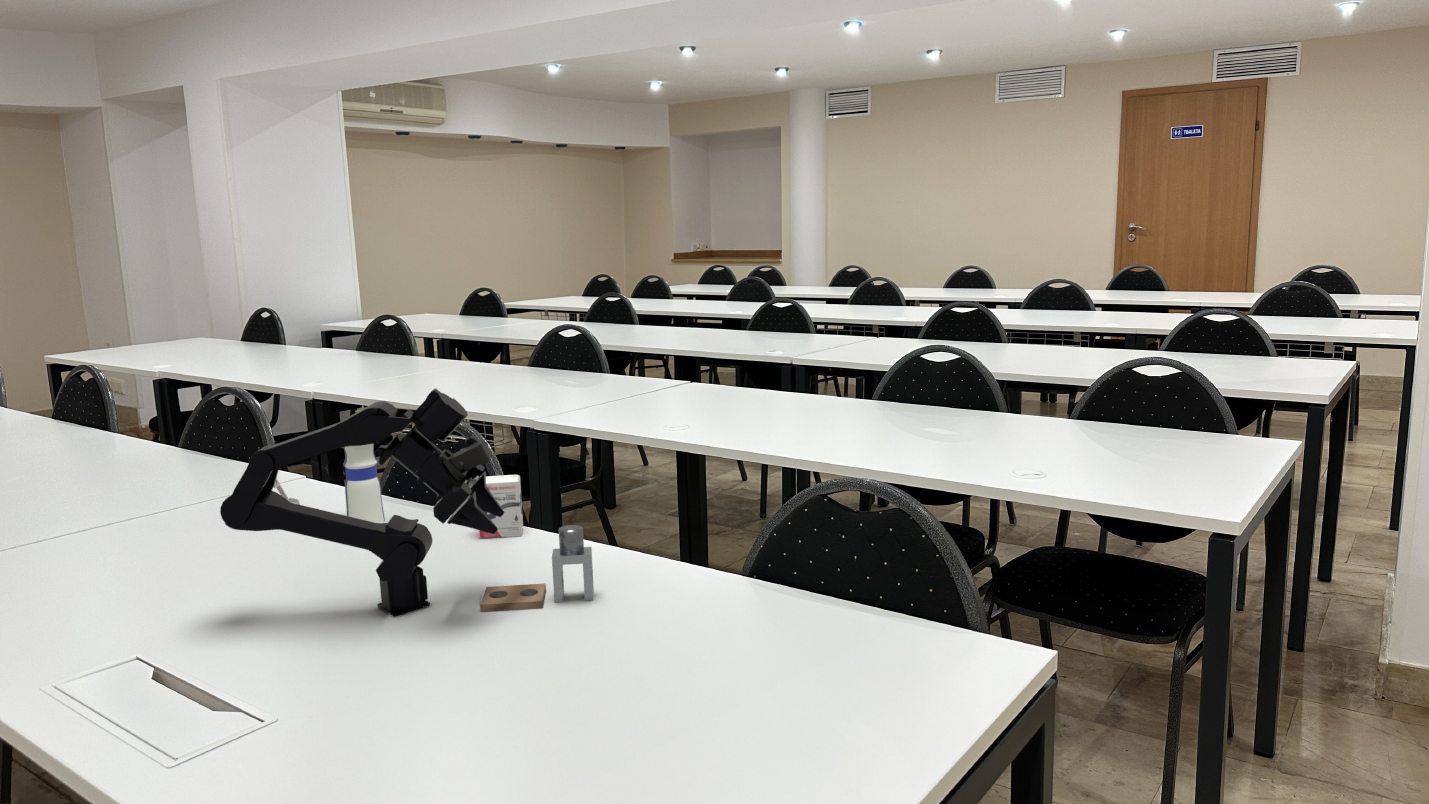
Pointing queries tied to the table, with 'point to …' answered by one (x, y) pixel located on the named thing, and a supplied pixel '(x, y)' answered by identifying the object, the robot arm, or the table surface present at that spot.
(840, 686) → the table surface
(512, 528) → the ink box
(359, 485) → the water bottle
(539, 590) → the bolt plate
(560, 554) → the dividers
